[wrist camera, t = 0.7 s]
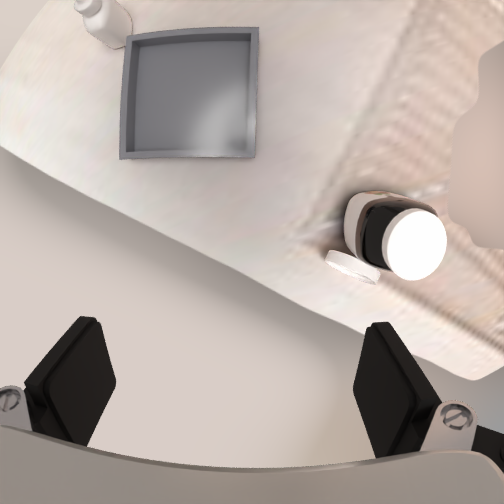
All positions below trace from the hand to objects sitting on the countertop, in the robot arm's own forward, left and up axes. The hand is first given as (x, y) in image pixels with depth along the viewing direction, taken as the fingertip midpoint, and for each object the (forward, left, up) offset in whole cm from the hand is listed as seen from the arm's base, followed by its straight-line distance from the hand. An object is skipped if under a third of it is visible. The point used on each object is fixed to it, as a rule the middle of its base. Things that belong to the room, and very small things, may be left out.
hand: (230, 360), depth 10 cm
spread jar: (+2, +15, -29) cm, 33 cm away
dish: (-14, -7, -29) cm, 32 cm away
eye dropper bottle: (-24, -17, -29) cm, 41 cm away
